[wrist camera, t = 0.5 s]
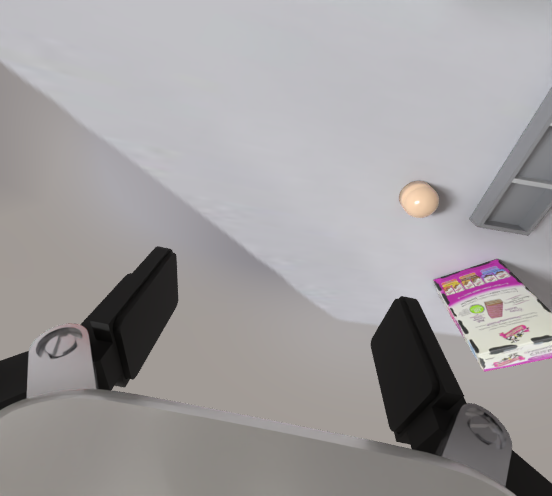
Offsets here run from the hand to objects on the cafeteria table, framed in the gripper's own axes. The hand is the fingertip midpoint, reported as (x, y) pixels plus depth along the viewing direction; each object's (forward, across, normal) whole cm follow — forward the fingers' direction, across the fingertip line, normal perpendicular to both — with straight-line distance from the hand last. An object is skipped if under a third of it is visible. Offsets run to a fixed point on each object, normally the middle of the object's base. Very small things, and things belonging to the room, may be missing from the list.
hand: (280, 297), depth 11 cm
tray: (+34, -33, -5) cm, 48 cm away
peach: (+34, -20, +5) cm, 39 cm away
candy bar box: (+34, -36, +18) cm, 53 cm away
